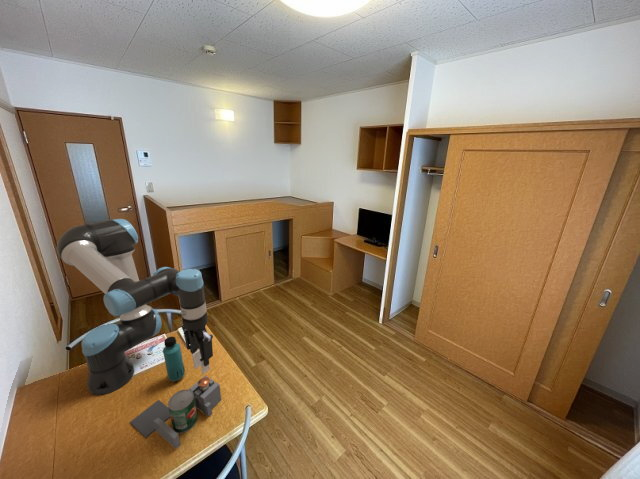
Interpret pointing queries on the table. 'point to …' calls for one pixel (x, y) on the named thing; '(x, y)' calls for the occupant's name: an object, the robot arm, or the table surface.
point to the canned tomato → (182, 411)
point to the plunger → (204, 384)
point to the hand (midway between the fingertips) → (202, 368)
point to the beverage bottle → (173, 359)
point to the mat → (150, 418)
